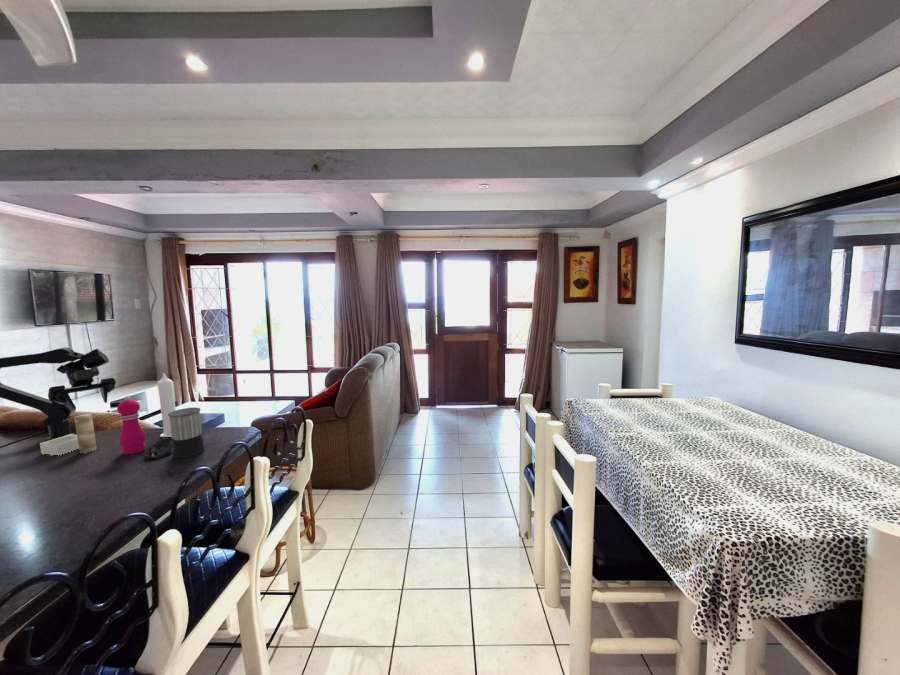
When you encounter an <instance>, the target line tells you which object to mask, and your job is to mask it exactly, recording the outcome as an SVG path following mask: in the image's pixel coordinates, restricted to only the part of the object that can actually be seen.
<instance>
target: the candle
mask: <svg viewBox="0 0 900 675" xmlns="http://www.w3.org/2000/svg"><path fill="white" fill-rule="evenodd" d="M173 385H174V384H173V380H172V379H170V378H168V376H167V375H166V373H165V372H163V373H162V377H161V379H160V380H158V381H157V390H158V397H159V405H160V411H161V412H160V413H161V419H162V428H163V433H161V434H160V436H159V437H160V438H161V437H171V438H172V433H171V426H170V418H169V416H168V414H169V413H170V412H173V411H176V410H177V408H176V402H175V401H176V400H175V392H174V386H173Z"/></svg>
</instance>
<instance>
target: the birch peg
mask: <svg viewBox="0 0 900 675" xmlns="http://www.w3.org/2000/svg"><path fill="white" fill-rule="evenodd" d="M92 415H93V414H92V413H86V414H84V413H83V414H80V415H76V416H74V418H73V419H74V423H75V424H74V425H75V431H76V435H77V438H78V444H79V449H78V450H79V453H80V454H81V453H83V454H88V453H87V452H89V453H92V452H95V451H96V449H97V441H96V433H95V428H94V422H93V421H94V420H93V416H92ZM94 450H95V451H94ZM97 450H98V449H97ZM91 451H92V452H91Z"/></svg>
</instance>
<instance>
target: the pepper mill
mask: <svg viewBox="0 0 900 675" xmlns="http://www.w3.org/2000/svg"><path fill="white" fill-rule="evenodd" d="M123 400H124V401H121V402H120V403H119V404H118V405H117V409H116V410H117V413H118V414H119V415H120V416H119V417H120V420H121V421H122V430H121V433H120V436H119V445H120V446H122V447H123V448H122V454H123V455H124V454H125V455H127V456H128V454H130V455H135V454H138V452H139V453H141V451H142V452H143V450H144V451H146V450H147V446H146V443H145V442H146V440H147V435H146V432H145V431H144V429H143V428H142V427H141V425H140V422H139V417H140V412H139V410H140V407H141V406H140V403H139V402H138V401H137V400H134V399H133V400H132V399H131V396H129V395H127V396H124V397H123ZM134 453H135V454H134Z"/></svg>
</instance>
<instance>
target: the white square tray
mask: <svg viewBox="0 0 900 675" xmlns="http://www.w3.org/2000/svg"><path fill="white" fill-rule="evenodd" d="M39 447H40V452H41V453H42V454H41V455H44V454H50V455H49V456H53V455H58V456H57V457H60V456H62V454H63V455H66V454H68V452H69V453H72V452H75V451H77V450H76V449H78V450H79V444H78V438H77V434H76V435H74V434H69V435H66V436H63V437H59V438H56V439H53V440H46V441H43V442H40V443H39ZM74 450H75V451H74ZM71 451H72V452H71ZM65 453H66V454H65ZM59 455H60V456H59Z"/></svg>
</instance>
